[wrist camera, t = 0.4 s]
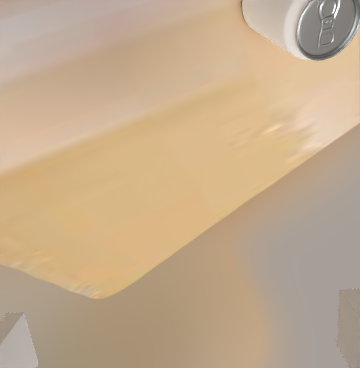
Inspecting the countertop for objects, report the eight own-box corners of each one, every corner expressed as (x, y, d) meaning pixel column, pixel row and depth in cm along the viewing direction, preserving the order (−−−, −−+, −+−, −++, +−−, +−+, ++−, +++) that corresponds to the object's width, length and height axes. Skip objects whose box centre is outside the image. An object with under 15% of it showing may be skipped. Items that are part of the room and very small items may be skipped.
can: (296, -44, 34) (373, -32, 24) (296, 22, 38) (361, 53, 29) (237, -26, 34) (291, -8, 24) (243, 38, 38) (291, 74, 28)
